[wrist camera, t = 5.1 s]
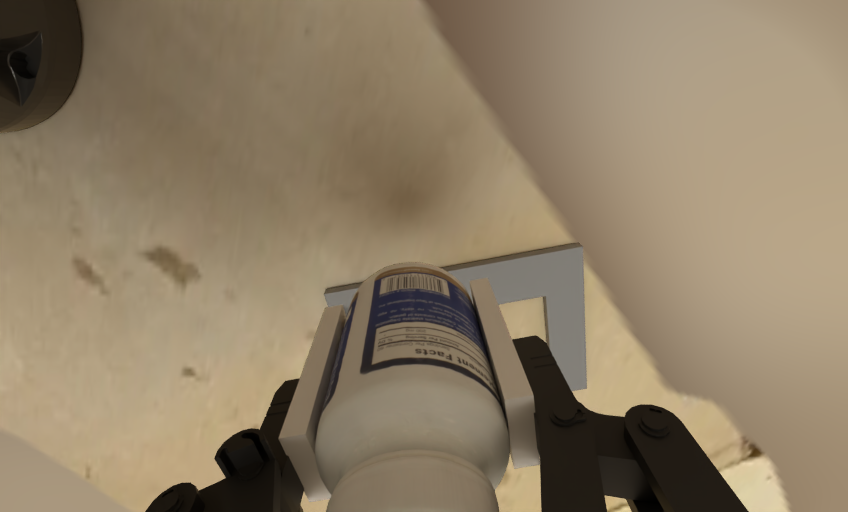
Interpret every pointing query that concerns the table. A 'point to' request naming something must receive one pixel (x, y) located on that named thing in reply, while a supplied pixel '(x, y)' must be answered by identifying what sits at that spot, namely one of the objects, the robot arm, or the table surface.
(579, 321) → the keyhole board
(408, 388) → the pill bottle
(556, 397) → the robot arm
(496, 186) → the table surface
